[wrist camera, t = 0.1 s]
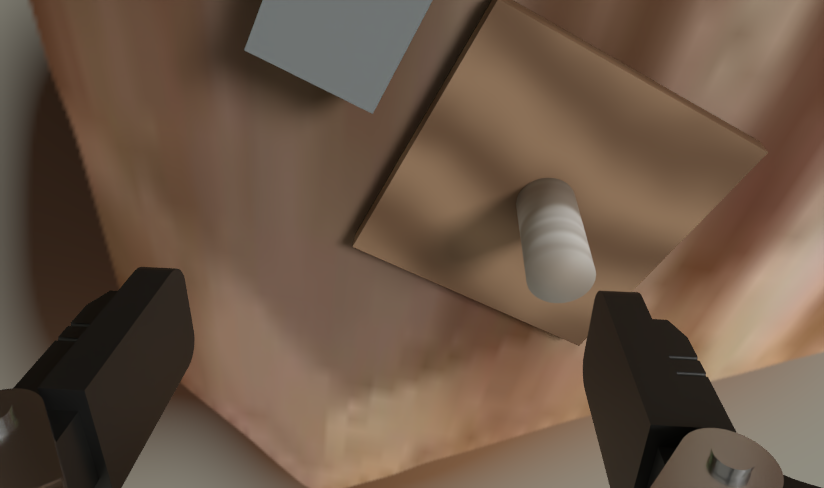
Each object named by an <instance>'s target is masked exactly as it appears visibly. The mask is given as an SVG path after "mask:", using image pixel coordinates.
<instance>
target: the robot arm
mask: <svg viewBox="0 0 824 488" xmlns="http://www.w3.org/2000/svg"><path fill="white" fill-rule="evenodd" d="M193 350H194V330H193V325H192V319H191V313H190V307H189V301H188V295H187V290H186V284H185V279H184V275H183V273H182V272H181V270H179V269H172V268H152V267H139V268H137V269H136V270H135V271H134V272H133V274H132V275H131V276H130V277H129V278H128V280H127V281H126V282H125V283H124V284H123V286H122V287H121V288H120V289H119V290H118V291H109V292H107V293H106V294H104V295H102V296H101V297H99V298H98V299H96V300H94V301H92V302H91V303H89V304H88V305H86V306H85V307H84V308H83V310H82V311H81V312H80V313H79V314H78V315H77V316H76V318H75V319H74V320H73V321H72V322H71V326H68V327H67V328H66V329H65V330H64V331H63V332H62V334H61V335H60V336H59V339H58V341H54V343H53V344H52V345H51V346H50V347H49V348H48V349H47V351H46V352H45V353H44V354H43V355H42V356H41V357H40V359H39V360H38V361H37V362H36V363H35V364H34V365H33V366H32V368H31V369H30V370H29V371H28V372H27V373H26V374H25V375H24V377H23V378H22V379H21V380H20V381H19V382H18V383H17V385H16V386H15V387H14V388H12V389H3V390H0V488H121V487H122V486H123V484H124V482H125V480H126V478H127V477H128V475H129V473H130V471H131V469H132V468H133V466H134V464H135V462H136V460H137V458H138V456H139V455H140V453H141V451H142V450H143V448H144V446H145V444H146V442H147V440H148V439H149V437H150V435H151V433H152V431H153V429H154V428H155V426H156V424H157V422H158V421H159V419H160V417H161V415H162V413H163V412H164V410H165V408H166V406H167V404H168V403H169V401H170V399H171V397H172V395H173V393H174V392H175V390H176V388H177V386H178V385H179V383H180V381H181V379H182V377H183V376H184V374H185V372H186V370H187V368H188V367H189V364H190V362H191V359H192V355H193ZM583 381H584V388H585V392H586V396H587V400H588V404H589V407H590V411H591V415H592V419H593V423H594V426H595V431H596V434H597V438H598V442H599V446H600V450H601V453H602V457H603V461H604V465H605V469H606V473H607V477H608V480H609V485H610V488H821V487H817V486H814V485H810V484H807V483H804V482H800V481H798V480H795V479H792V478H790V477H787V476H785V475H783V473H782V470H781V468H780V466H779V464H778V463H777V461H776V460H775V459H774V457H773V456H772V455H771V454H770V453H769V452H768V451H767V450H765V449H764V448H763V447H762V446H760V445H759V444H758V443H756V442H755V441H753V440H751V439H749V438H747V437H745V436H743V435H741V434H738V433H736V431H735V429H734V427H733V425H732V423H731V421H730V419H729V417H728V415H727V413H726V411H725V409H724V407H723V405H722V403H721V402H720V400H719V398H718V396H717V394H716V392H715V390H714V388H713V386H712V384H711V382H710V380H709V378H708V377H706V372H705V371H704V369H703V367H702V365H701V363H700V361H697V355H696V353H695V351H694V349H693V347H692V345H691V343H690V342H689V340H688V338H687V337H686V336H685V335H684V334H683V333H682V332H681V331H679V330H678V329H677V328H676V327H675V326H674V325H673V324H671V323H670V322H669V321H668V320H657V319H652V318H651V315H650V313H649V311H648V309H647V307H646V305H645V302H644V300H643V298H642V296H641V294H640V293H638V292H620V291H598V292H597V294H596V296H595V299H594V304H593V309H592V315H591V320H590V325H589V331H588V336H587V341H586V347H585V352H584V359H583Z"/></svg>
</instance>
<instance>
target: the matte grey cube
mask: <svg viewBox="0 0 824 488" xmlns="http://www.w3.org/2000/svg"><path fill="white" fill-rule="evenodd" d="M431 2H432V0H263V1H262V3H261V6H260V9H259V11H258V14H257V17H256V20H255V22H254V25H253V28H252V30H251V33H250V36H249V39H248V41H247V44H246V47H245V49H244V50H245V51H247V52H249V53H251V54H253V55H255V56H257V57H259V58H261V59H263V60H265V61H267V62H269V63H271V64H273V65H275V66H277V67H279V68H281V69H283V70H285V71H287V72H289V73H291V74H293V75H295V76H297V77H299V78H301V79H303V80H305V81H307V82H309V83H311V84H313V85H315V86H317V87H319V88H321V89H324V90H326V91H328V92H330V93H332V94H334V95H336V96H338V97H340V98H342V99H344V100H346V101H348V102H350V103H352V104H354V105H356V106H358V107H360V108H362V109H364V110H366V111H368V112H370V113H372V114H373V112H374V110H375V108H376V106H377V105H378V103H379V101H380V99H381V97H382V95H383V93H384V91H385V89H386V88H387V86H388V84H389V82H390V80H391V78H392V76H393V74H394V72H395V70H396V69H397V67H398V65H399V63H400V61H401V59H402V57H403V55H404V53H405V51H406V50H407V48H408V46H409V44H410V42H411V40H412V38H413V36H414V34H415V33H416V31H417V29H418V27H419V25H420V23H421V21H422V19H423V17H424V15H425V14H426V12H427V10H428V8H429V6H430V4H431Z"/></svg>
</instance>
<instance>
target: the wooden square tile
mask: <svg viewBox="0 0 824 488" xmlns="http://www.w3.org/2000/svg"><path fill="white" fill-rule="evenodd" d="M767 153H768V152H767V150H766V149H765V148H764V147H763V145H762V144H761V143H760V142H759V141H758V140H756V139H754V138H753V137H751V136H749V135H747V134H746V133H744V132H742V131H740V130H739V129H737V128H735V127H733V126H732V125H730V124H728V123H726V122H725V121H723V120H721V119H719V118H718V117H716V116H714V115H712V114H711V113H709V112H707V111H705V110H704V109H702V108H700V107H698V106H697V105H695V104H693V103H691V102H690V101H688V100H686V99H684V98H683V97H681V96H679V95H677V94H676V93H674V92H672V91H670V90H669V89H667V88H665V87H663V86H662V85H660V84H658V83H656V82H655V81H653V80H651V79H649V78H648V77H646V76H644V75H642V74H641V73H639V72H637V71H635V70H634V69H632V68H630V67H628V66H627V65H625V64H623V63H621V62H620V61H618V60H616V59H614V58H613V57H611V56H609V55H607V54H606V53H604V52H602V51H600V50H599V49H597V48H595V47H593V46H592V45H590V44H588V43H586V42H585V41H583V40H581V39H579V38H578V37H576V36H574V35H572V34H571V33H569V32H567V31H565V30H564V29H562V28H560V27H558V26H557V25H555V24H553V23H551V22H550V21H548V20H546V19H544V18H543V17H541V16H539V15H537V14H536V13H534V12H532V11H530V10H529V9H527V8H525V7H523V6H522V5H520V4H518V3H516V2H515V1H513V0H492V1H491V3H490V4H489V6H488V8H487V9H486V11H485V13H484V15H483V16H482V18H481V20H480V21H479V23H478V25H477V27H476V28H475V30H474V32H473V33H472V35H471V37H470V39H469V40H468V42H467V44H466V45H465V47H464V49H463V51H462V52H461V54H460V56H459V57H458V59H457V61H456V63H455V64H454V66H453V68H452V69H451V71H450V73H449V75H448V76H447V78H446V80H445V81H444V83H443V85H442V87H441V88H440V90H439V92H438V93H437V95H436V97H435V99H434V100H433V102H432V104H431V106H430V107H429V109H428V111H427V112H426V114H425V116H424V118H423V119H422V121H421V123H420V124H419V126H418V128H417V130H416V131H415V133H414V135H413V136H412V138H411V140H410V142H409V143H408V145H407V147H406V148H405V150H404V152H403V154H402V155H401V157H400V159H399V160H398V162H397V164H396V166H395V167H394V169H393V171H392V172H391V174H390V176H389V178H388V179H387V181H386V183H385V184H384V186H383V188H382V190H381V191H380V193H379V195H378V196H377V198H376V200H375V202H374V203H373V205H372V207H371V208H370V210H369V212H368V214H367V215H366V217H365V219H364V220H363V222H362V224H361V226H360V227H359V229H358V231H357V233H356V234H355V238H354V243H353V247H354V248H357V249H359V250H361V251H363V252H366V253H368V254H370V255H373V256H375V257H377V258H379V259H382V260H384V261H386V262H389V263H391V264H393V265H395V266H398V267H400V268H402V269H405V270H407V271H409V272H411V273H414V274H416V275H418V276H421V277H423V278H425V279H427V280H430V281H432V282H434V283H437V284H439V285H441V286H443V287H446V288H448V289H450V290H453V291H455V292H457V293H459V294H462V295H464V296H466V297H469V298H471V299H473V300H475V301H478V302H480V303H482V304H485V305H487V306H489V307H491V308H494V309H496V310H498V311H501V312H503V313H505V314H507V315H510V316H512V317H514V318H517V319H519V320H521V321H523V322H526V323H528V324H530V325H533V326H535V327H537V328H539V329H542V330H544V331H546V332H549V333H551V334H553V335H555V336H558V337H560V338H562V339H565V340H567V341H569V342H571V343H574V344H576V345H578V346H579V345H580V344H581V343H582V342H583V341H584V340H585V339H586V338H587V336H588V331H589V325H590V320H591V315H592V309H593V304H594V299H595V296H596V294H597V292H598V291H620V292H632V291H633V290H634V289H635V288H636V287H637V286H638V285H639V284H640V283H641V282H642V281H643V280H644V279H645V278H646V277H647V276H648V275H649V274H650V273H651V272H652V271H653V270H654V269H655V268H656V267H657V266H658V265H659V264H660V263H661V261H662V260H663V259H664V258H665V257H666V256H667V255H668V254H669V253H670V252H671V251H672V250H673V249H674V248H675V247H676V246H677V245H678V244H679V243H680V242H681V241H682V240H683V239H684V238H685V237H686V236H687V235H688V234H689V233H690V232H691V231H692V230H693V229H694V228H695V227H696V226H697V225H698V224H699V223H700V222H701V221H702V220H703V219H704V218H705V217H706V216H707V215H708V213H709V212H710V211H711V210H712V209H713V208H714V207H715V206H716V205H717V204H718V203H719V202H720V201H721V200H722V199H723V198H724V197H725V196H726V195H727V194H728V193H729V192H730V191H731V190H732V189H733V188H734V187H735V186H736V185H737V184H738V183H739V182H740V181H741V180H742V179H743V178H744V177H745V176H746V175H747V174H748V173H749V172H750V171H751V170H752V169H753V168H754V167H755V165H756V164H757V163H758V162H759V161H760V160H761V159H762V158H763V157H764V156H765V155H766V154H767Z"/></svg>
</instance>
